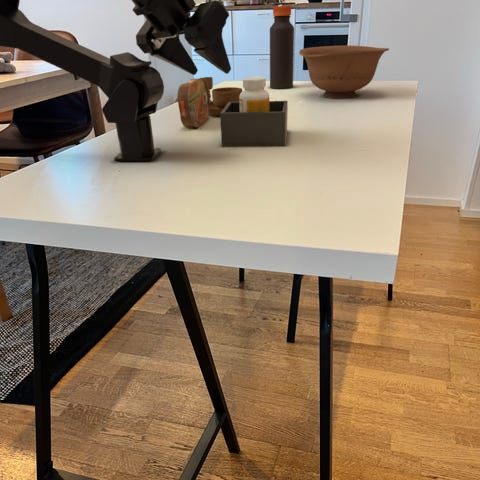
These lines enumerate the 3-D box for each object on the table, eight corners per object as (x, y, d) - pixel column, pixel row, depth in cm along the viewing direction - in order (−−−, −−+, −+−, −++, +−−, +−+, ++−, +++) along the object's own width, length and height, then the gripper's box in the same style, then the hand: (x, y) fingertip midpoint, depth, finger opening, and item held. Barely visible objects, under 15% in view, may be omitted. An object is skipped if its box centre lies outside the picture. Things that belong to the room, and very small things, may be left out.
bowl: (304, 104, 116) (305, 53, 110) (292, 91, 134) (293, 46, 128) (394, 100, 116) (401, 49, 110) (370, 87, 134) (375, 42, 128)
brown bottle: (282, 85, 145) (282, 6, 134) (297, 86, 140) (299, 5, 129) (265, 87, 141) (264, 6, 130) (280, 89, 137) (281, 6, 126)
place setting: (184, 117, 108) (181, 89, 105) (202, 102, 124) (201, 77, 121) (261, 117, 105) (261, 87, 102) (270, 101, 122) (270, 75, 119)
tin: (193, 131, 96) (189, 85, 91) (178, 131, 96) (173, 85, 92) (211, 116, 108) (208, 75, 103) (198, 116, 109) (194, 75, 104)
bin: (285, 145, 84) (285, 112, 81) (221, 146, 85) (220, 113, 82) (287, 131, 93) (287, 100, 90) (230, 132, 94) (228, 101, 91)
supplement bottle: (234, 136, 89) (232, 79, 83) (253, 131, 92) (252, 75, 87) (256, 140, 86) (255, 81, 80) (275, 134, 89) (275, 77, 84)
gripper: (215, -74, 63) (276, 28, 74) (144, -46, 75) (205, 37, 87) (169, -6, 62) (237, 87, 73) (105, 10, 75) (171, 87, 86)
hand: (211, 72), depth 80 cm, fingers open, 9 cm apart
